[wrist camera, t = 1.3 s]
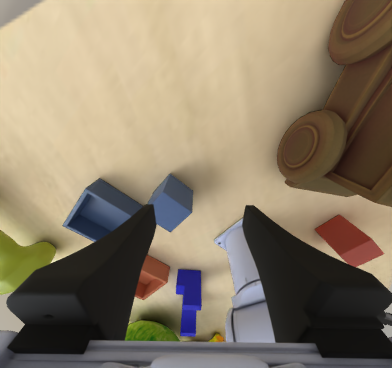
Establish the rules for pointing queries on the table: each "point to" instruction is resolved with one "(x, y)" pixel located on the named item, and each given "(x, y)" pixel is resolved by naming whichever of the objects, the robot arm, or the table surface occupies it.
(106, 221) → the blue tray
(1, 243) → the dumbbell
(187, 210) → the blue block
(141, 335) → the lettuce
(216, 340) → the toy figure
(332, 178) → the wooden toy train
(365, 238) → the red block
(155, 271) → the red tray
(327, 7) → the table surface
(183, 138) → the table surface
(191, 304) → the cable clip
